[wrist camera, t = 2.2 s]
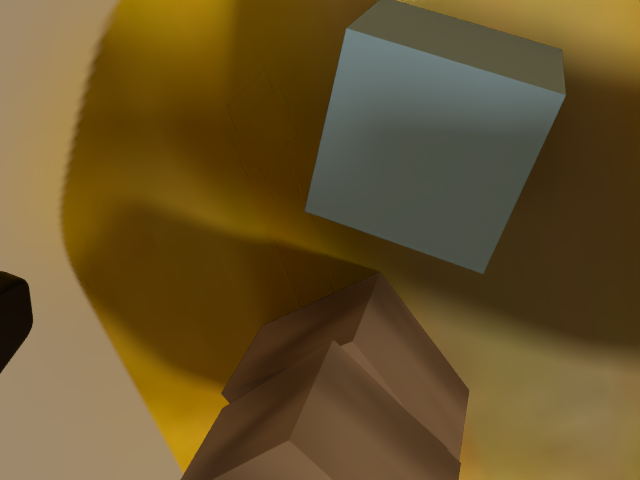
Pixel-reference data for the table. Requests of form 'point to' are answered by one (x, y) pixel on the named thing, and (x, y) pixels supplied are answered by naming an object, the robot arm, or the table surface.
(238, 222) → the table surface
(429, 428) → the tower base
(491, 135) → the slate block
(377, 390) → the tower mid
